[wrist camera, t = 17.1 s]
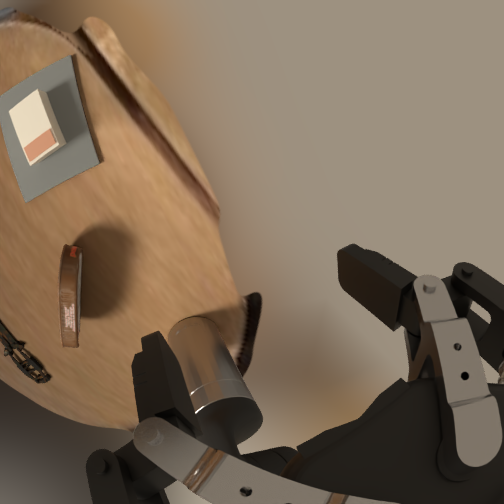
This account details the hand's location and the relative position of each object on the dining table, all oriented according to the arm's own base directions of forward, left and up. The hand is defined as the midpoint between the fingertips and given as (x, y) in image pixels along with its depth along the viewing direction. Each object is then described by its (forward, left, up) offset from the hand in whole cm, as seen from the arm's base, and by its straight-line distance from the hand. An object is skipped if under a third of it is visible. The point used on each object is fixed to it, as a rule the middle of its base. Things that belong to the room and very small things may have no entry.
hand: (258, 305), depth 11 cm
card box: (+14, +14, -28) cm, 34 cm away
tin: (-8, +19, -28) cm, 35 cm away
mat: (+14, +14, -28) cm, 34 cm away
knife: (-11, +40, -29) cm, 50 cm away
